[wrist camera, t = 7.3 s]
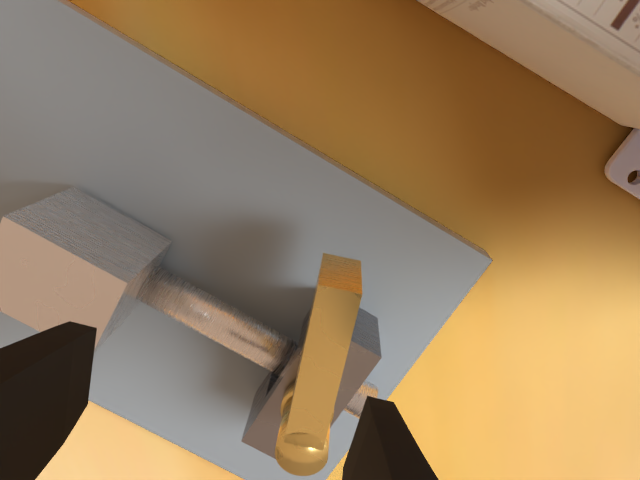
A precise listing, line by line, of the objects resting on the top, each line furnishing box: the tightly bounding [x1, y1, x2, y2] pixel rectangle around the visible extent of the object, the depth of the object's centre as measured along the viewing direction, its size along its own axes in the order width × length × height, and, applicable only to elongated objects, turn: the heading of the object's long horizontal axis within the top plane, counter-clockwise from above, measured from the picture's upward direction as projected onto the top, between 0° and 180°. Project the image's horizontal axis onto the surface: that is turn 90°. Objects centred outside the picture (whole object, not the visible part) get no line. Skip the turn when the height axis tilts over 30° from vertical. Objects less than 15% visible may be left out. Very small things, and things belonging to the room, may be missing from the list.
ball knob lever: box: [275, 253, 362, 476], centre depth 16 cm, size 2×6×2 cm, turn 168°
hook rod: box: [0, 187, 378, 419], centre depth 18 cm, size 14×3×4 cm, turn 60°
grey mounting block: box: [241, 307, 382, 459], centre depth 19 cm, size 2×6×3 cm, turn 150°
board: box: [0, 0, 493, 480], centre depth 20 cm, size 20×14×1 cm
